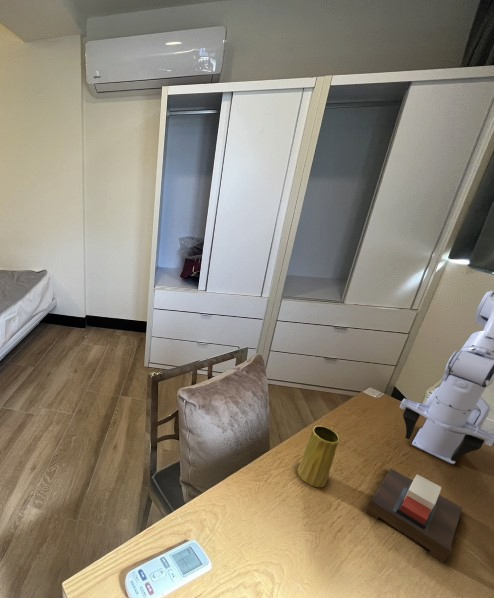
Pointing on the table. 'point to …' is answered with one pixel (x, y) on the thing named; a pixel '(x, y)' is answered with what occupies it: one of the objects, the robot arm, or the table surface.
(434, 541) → the dark brown slab
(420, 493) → the two-tone white red block
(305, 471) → the vase
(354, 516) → the table surface
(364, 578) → the table surface
